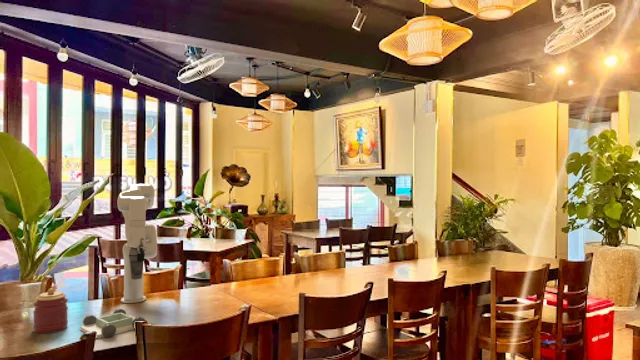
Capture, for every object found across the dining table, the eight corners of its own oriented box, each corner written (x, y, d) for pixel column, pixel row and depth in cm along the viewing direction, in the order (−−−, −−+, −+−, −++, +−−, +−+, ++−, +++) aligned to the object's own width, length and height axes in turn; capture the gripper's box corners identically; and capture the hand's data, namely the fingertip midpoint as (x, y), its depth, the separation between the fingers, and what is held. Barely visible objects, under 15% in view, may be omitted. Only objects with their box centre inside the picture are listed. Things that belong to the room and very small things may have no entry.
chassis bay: (78, 328, 193) (78, 317, 193) (127, 317, 210) (127, 306, 210) (98, 340, 180) (98, 328, 180) (149, 327, 196) (150, 315, 196)
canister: (74, 325, 198) (75, 285, 198) (51, 335, 185) (51, 293, 185) (50, 323, 201) (50, 284, 201) (25, 332, 188) (25, 291, 188)
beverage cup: (131, 276, 217) (131, 235, 216) (146, 276, 217) (147, 235, 217) (126, 280, 209) (126, 238, 209) (141, 280, 210) (142, 238, 210)
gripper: (120, 222, 216) (120, 258, 216) (138, 225, 204) (138, 264, 205) (135, 221, 221) (135, 256, 222) (153, 224, 210) (153, 261, 210)
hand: (136, 260), depth 213 cm, fingers closed on beverage cup, 7 cm apart
